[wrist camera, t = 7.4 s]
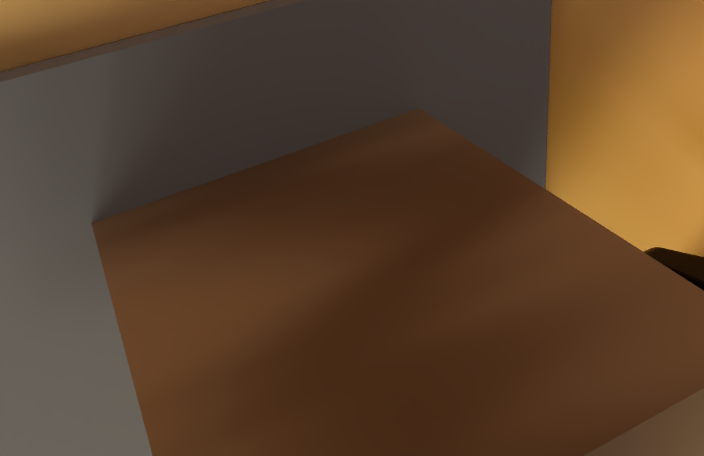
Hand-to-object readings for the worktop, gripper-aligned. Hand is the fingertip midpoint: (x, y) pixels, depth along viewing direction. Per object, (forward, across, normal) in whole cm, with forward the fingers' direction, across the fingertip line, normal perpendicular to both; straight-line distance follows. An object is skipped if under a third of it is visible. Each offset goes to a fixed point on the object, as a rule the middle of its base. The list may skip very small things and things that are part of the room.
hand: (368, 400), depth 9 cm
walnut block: (+3, 0, 0) cm, 3 cm away
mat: (+3, 0, 0) cm, 3 cm away
